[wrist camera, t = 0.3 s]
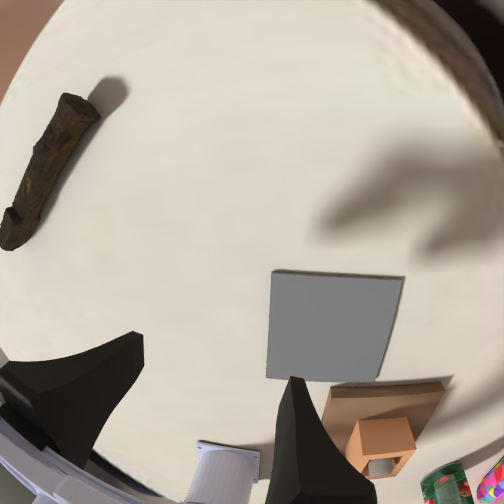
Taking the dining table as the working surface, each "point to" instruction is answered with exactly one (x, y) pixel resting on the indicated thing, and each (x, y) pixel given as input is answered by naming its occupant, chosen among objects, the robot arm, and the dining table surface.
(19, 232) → the hand tool
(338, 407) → the post block
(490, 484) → the pencil case
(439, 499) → the canned tomato
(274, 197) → the dining table surface
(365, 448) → the hollow square tube
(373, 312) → the pad
